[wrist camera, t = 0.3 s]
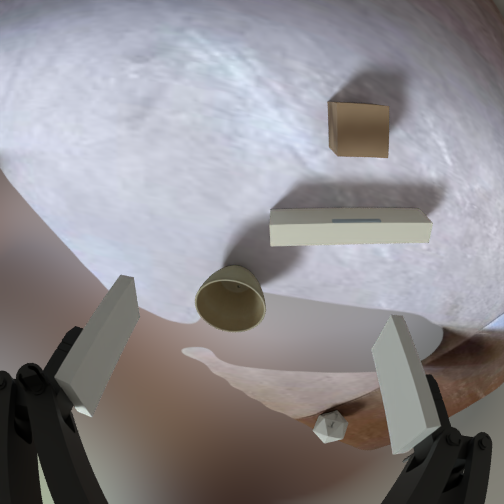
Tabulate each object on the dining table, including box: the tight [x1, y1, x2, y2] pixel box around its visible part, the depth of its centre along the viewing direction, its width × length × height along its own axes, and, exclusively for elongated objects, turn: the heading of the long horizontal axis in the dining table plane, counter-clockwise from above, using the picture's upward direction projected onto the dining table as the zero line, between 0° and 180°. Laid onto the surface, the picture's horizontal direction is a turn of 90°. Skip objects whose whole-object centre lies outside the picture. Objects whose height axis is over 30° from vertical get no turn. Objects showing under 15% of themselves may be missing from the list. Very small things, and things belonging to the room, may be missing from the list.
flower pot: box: [195, 265, 266, 332], centre depth 43 cm, size 10×10×7 cm
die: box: [313, 410, 348, 443], centre depth 64 cm, size 8×9×10 cm
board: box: [269, 208, 433, 246], centre depth 37 cm, size 3×22×5 cm, turn 95°
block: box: [328, 102, 389, 158], centre depth 30 cm, size 6×6×6 cm
